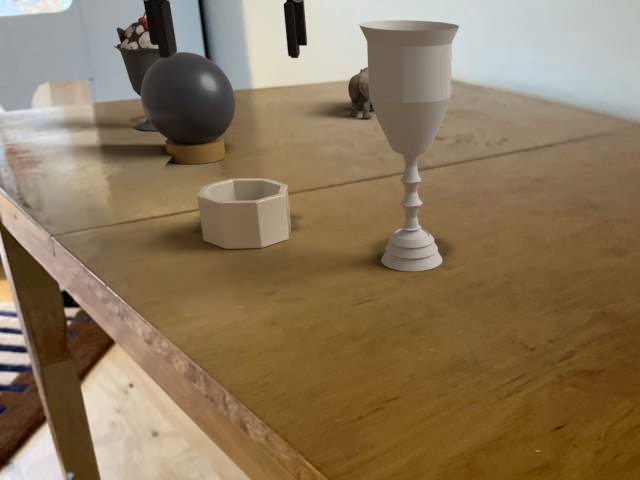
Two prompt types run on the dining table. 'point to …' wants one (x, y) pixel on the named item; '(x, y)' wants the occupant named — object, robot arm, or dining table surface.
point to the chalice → (410, 115)
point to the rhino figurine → (360, 94)
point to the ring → (244, 213)
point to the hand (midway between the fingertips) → (232, 55)
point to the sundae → (138, 57)
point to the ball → (189, 106)
